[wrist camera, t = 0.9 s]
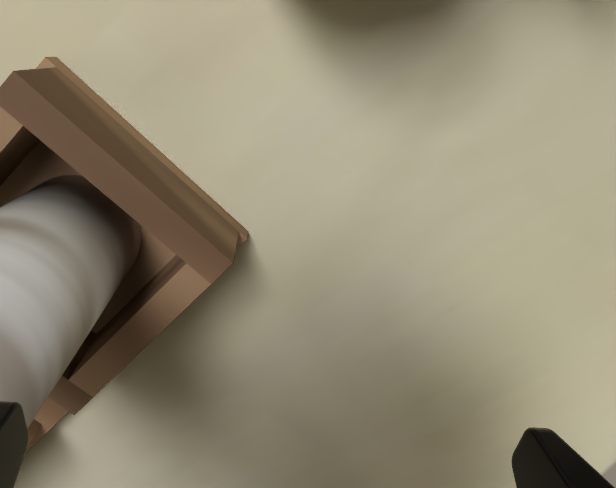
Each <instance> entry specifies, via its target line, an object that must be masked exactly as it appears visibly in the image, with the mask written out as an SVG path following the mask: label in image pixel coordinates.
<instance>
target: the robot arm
mask: <svg viewBox="0 0 616 488" xmlns="http://www.w3.org/2000/svg"><path fill="white" fill-rule="evenodd" d="M28 438H29V436H28V429H27V425H26V421H25V417H24V413H23V409H22V406H21V405H20V404H19V403H18V402H10V401H0V488H14V485H15V482H16V479H17V476H18V473H19V470H20V466H21V463H22V460H23V457H24V454H25V451H26V448H27V444H28ZM512 468H513V473H514V477H515V482H516V486H517V488H615V487H613V486H612V485H611V484H610V483H609V482H608V481H607V480H606V479H605V478H604V477H603V476H602V475H600V474H599V473H598V472H597V471H596V470H595V469H594V468H593V467H592V466H591V465H590V464H589V463H587V462H586V461H585V460H584V459H583V458H582V457H581V456H580V455H579V454H578V453H577V452H576V451H574V450H573V449H572V448H571V447H570V446H569V445H568V444H567V443H566V442H565V441H564V440H563V439H561V438H560V437H559V436H558V435H557V434H556V433H555V432H554V431H552V430H550V429H547V428H528V429H527V430H526V431H525V432H524V434H523V436H522V438H521V440H520V441H519V443H518V445H517V447H516V449H515V451H514V453H513V456H512Z"/></svg>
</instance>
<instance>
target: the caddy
mask: <svg viewBox="0 0 616 488" xmlns="http://www.w3.org/2000/svg"><path fill="white" fill-rule="evenodd" d="M247 236H248V231H247V230H246V229H245V228H244V227H243V226H242V225H240V224H239V223H238V222H237V221H236V220H235V219H234V218H233V217H232V216H231V215H229V214H228V213H227V212H226V211H225V210H224V209H223V208H222V207H221V206H220V205H218V204H217V203H216V202H215V201H214V200H213V199H212V198H211V197H210V196H209V195H207V194H206V193H205V192H204V191H203V190H202V189H201V188H200V187H199V186H198V185H196V184H195V183H194V182H193V181H192V180H191V179H190V178H189V177H188V176H187V175H185V174H184V173H183V172H182V171H181V170H180V169H179V168H178V167H177V166H176V165H174V164H173V163H172V162H171V161H170V160H169V159H168V158H167V157H166V156H165V155H163V154H162V153H161V152H160V151H159V150H158V149H157V148H156V147H155V146H153V145H152V144H151V143H150V142H149V141H148V140H147V139H146V138H145V137H144V136H142V135H141V134H140V133H139V132H138V131H137V130H136V129H135V128H134V127H133V126H131V125H130V124H129V123H128V122H127V121H126V120H125V119H124V118H123V117H122V116H120V115H119V114H118V113H117V112H116V111H115V110H114V109H113V108H112V107H111V106H109V105H108V104H107V103H106V102H105V101H104V100H103V99H102V98H101V97H100V96H98V95H97V94H96V93H95V92H94V91H93V90H92V89H91V88H90V87H89V86H87V85H86V84H85V83H84V82H83V81H82V80H81V79H80V78H79V77H78V76H76V75H75V74H74V73H73V72H72V71H71V70H70V69H69V68H68V67H67V66H65V65H64V64H63V63H62V62H61V61H60V60H59V59H58V58H57V57H45V58H44V59H43V61H42V62H41V63H40V64H39V66H38V67H37V68H36V69H30V70H19V71H13V72H12V73H11V74H10V76H9V77H8V78H7V79H6V81H5V82H4V83H3V84H2V85H1V87H0V401H10V402H18V403H19V404H20V405H21V406H22V409H23V413H24V417H25V421H26V425H27V429H28V436H29V438H28V444H27V448H26V451H25V453H26V452H27V451H28V450H29V449H30V448H31V447H32V446H33V445H34V444H35V443H36V442H38V441H39V440H40V439H41V438H42V437H43V436H44V435H45V434H46V433H47V432H48V431H49V430H50V429H51V428H52V427H53V426H54V425H55V424H56V423H57V422H58V421H59V420H60V419H61V418H62V417H63V416H64V415H65V414H66V413H68V412H71V413H72V414H74V415H75V414H76V413H77V412H78V411H79V410H80V409H81V408H82V407H84V406H85V405H86V404H87V403H88V402H89V401H90V400H91V399H92V398H93V397H94V396H95V395H96V394H97V393H98V392H99V391H100V390H101V389H102V388H103V387H104V386H105V385H106V384H107V383H109V382H110V381H111V380H112V379H113V378H114V377H115V376H116V375H117V374H118V373H119V372H120V371H121V370H122V369H123V368H124V367H125V366H126V365H127V364H128V363H129V362H130V361H131V360H132V359H134V358H135V357H136V356H137V355H138V354H139V353H140V352H141V351H142V350H143V349H144V348H145V347H146V346H147V345H148V344H149V343H150V342H151V341H152V340H153V339H154V338H155V337H156V336H157V335H159V334H160V333H161V332H162V331H163V330H164V329H165V328H166V327H167V326H168V325H169V324H170V323H171V322H172V321H173V320H174V319H175V318H176V317H177V316H178V315H179V314H180V313H181V312H182V311H184V310H185V309H186V308H187V307H188V306H189V305H190V304H191V303H192V302H193V301H194V300H195V299H196V298H197V297H198V296H199V295H200V294H201V293H202V292H203V291H204V290H205V289H206V288H207V287H209V286H210V285H211V284H212V283H213V282H214V281H215V280H216V279H217V278H218V277H219V276H220V275H221V274H222V273H223V272H224V271H225V270H226V269H227V268H228V267H229V266H230V265H231V264H232V263H233V261H234V255H235V250H236V249H237V248H238V247H239V246H240V245H242V244H243V243H244V242H245V241H246V240H247Z"/></svg>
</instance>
